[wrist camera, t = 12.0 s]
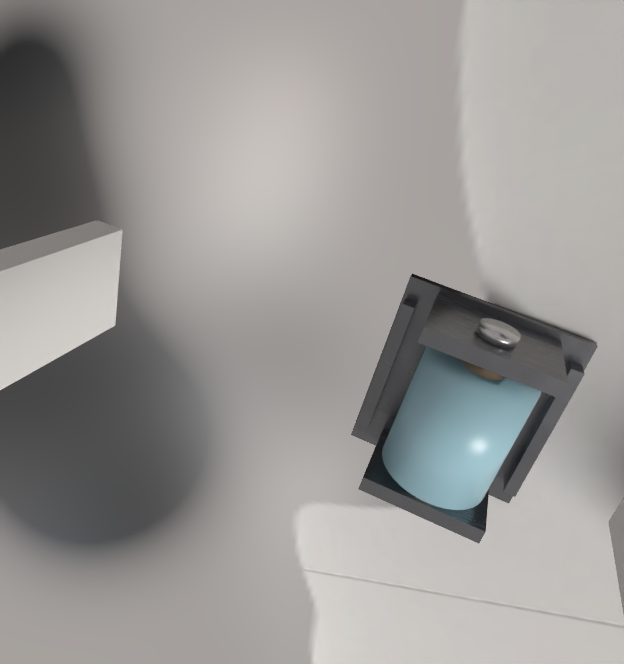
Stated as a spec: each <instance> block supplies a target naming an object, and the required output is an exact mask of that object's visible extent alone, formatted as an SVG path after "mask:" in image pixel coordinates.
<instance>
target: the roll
mask: <svg viewBox="0 0 624 664" xmlns="http://www.w3.org/2000/svg"><path fill="white" fill-rule="evenodd" d="M540 395H541V391H539V390H536V389H534V388H531V387H529V386H526V385H524V384H521V383H519V382H516V381H514V380H511V379H509V378H506V377H504V376H501V375H499V374H496V373H493V372H491V371H488V370H486V369H483V368H481V367H478V366H476V365H473V364H471V363H468V362H466V361H463V360H461V359H458V358H456V357H453V356H451V355H448V354H446V353H443V352H440V351H438V350H435V349H433V348H430V347H428V346H426V349H425V351H424V353H423V355H422V358H421V360H420V362H419V365H418V367H417V369H416V372H415V374H414V376H413V379H412V381H411V383H410V386H409V388H408V390H407V393H406V395H405V397H404V400H403V402H402V404H401V407H400V409H399V411H398V414H397V416H396V418H395V421H394V423H393V425H392V428H391V430H390V432H389V435H388V437H387V439H386V441H385V444H384V446H383V449H382V458H383V462H384V465H385V467H386V469H387V470H388V472H389V474H390V475H391V476H392V478H393V479H394V480H395V481H396V482H397V483H398V484H399V485H400V486H401V487H402V488H404V489H405V490H406V491H408V492H409V493H410V494H412V495H414V496H415V497H417V498H419V499H420V500H422V501H424V502H427V503H429V504H431V505H434V506H437V507H441V508H445V509H451V510H466V509H470V508H473V507H475V506H477V505H478V504H479V503H480V502H481V501H482V500H483V498H484V496H485V494H486V492H487V491H488V489H489V487H490V485H491V483H492V482H493V480H494V478H495V476H496V474H497V473H498V471H499V469H500V467H501V466H502V464H503V462H504V460H505V458H506V457H507V455H508V453H509V451H510V449H511V448H512V446H513V444H514V442H515V440H516V439H517V437H518V435H519V433H520V431H521V430H522V428H523V426H524V424H525V422H526V421H527V419H528V417H529V415H530V413H531V412H532V410H533V408H534V406H535V404H536V403H537V401H538V399H539V397H540Z"/></svg>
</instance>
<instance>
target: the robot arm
mask: <svg viewBox="0 0 624 664" xmlns="http://www.w3.org/2000/svg"><path fill="white" fill-rule="evenodd" d="M121 241H122V229H119V228H116V227H113V226H111V225H108V224H105V223H102V222H99V221H94V222H91V223H87V224H84V225H81V226H77V227H74V228H71V229H68V230H64V231H61V232H57V233H54V234H51V235H47V236H44V237H41V238H38V239H34V240H31V241H28V242H24V243H21V244H18V245H14V246H11V247H8V248H4V249H1V250H0V390H1V389H3V388H5V387H6V386H8V385H10V384H12V383H14V382H15V381H17V380H19V379H21V378H23V377H24V376H26V375H28V374H30V373H31V372H33V371H35V370H37V369H38V368H40V367H42V366H44V365H46V364H47V363H49V362H51V361H52V360H54V359H56V358H58V357H60V356H62V355H63V354H65V353H67V352H69V351H70V350H72V349H74V348H76V347H78V346H79V345H81V344H83V343H85V342H86V341H88V340H90V339H92V338H94V337H95V336H97V335H99V334H101V333H102V332H104V331H106V330H108V329H109V328H111V327H113V326H115V319H116V307H117V293H118V280H119V268H120V255H121ZM609 527H610V533H611V540H612V546H613V552H614V558H615V564H616V570H617V576H618V583H619V589H620V595H621V601H622V607H623V613H624V498H623V499H622V501H621V502H620V504H619V506H618V507H617V509H616V511H615V512H614V514H613V515H612V517H611V519H610V520H609Z"/></svg>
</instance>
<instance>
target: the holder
mask: <svg viewBox="0 0 624 664" xmlns="http://www.w3.org/2000/svg"><path fill="white" fill-rule="evenodd" d="M426 346H428V347H430V348H433V349H435V350H438V351H440V352H443V353H446V354H448V355H451V356H453V357H456V358H458V359H461V360H463V361H466V362H468V363H471V364H473V365H476V366H478V367H481V368H483V369H486V370H488V371H491V372H493V373H496V374H499V375H501V376H504V377H506V378H509V379H511V380H514V381H516V382H519V383H521V384H524V385H526V386H529V387H531V388H534V389H536V390H539V391H541V395H540V397H539V399H538V401H537V403H536V404H535V406H534V408H533V410H532V412H531V413H530V415H529V417H528V419H527V421H526V422H525V424H524V426H523V428H522V430H521V431H520V433H519V435H518V437H517V439H516V440H515V442H514V444H513V446H512V448H511V449H510V451H509V453H508V455H507V457H506V458H505V460H504V462H503V464H502V466H501V467H500V469H499V471H498V473H497V474H496V476H495V478H494V480H493V482H492V483H491V485H490V487H489V489H488V491H487V492H486V494H485V496H484V498H483V500H482V501H481V502H480V503H479V504H478V505H477V506H475V507H473V508H470V509H466V510H451V509H445V508H441V507H437V506H434V505H431V504H429V503H427V502H424V501H422V500H420V499H419V498H417V497H415V496H414V495H412V494H410V493H409V492H408V491H406V490H405V489H404V488H402V487H401V486H400V485H399V484H398V483H397V482H396V481H395V480H394V479H393V478H392V476H391V475H390V474H389V472H388V470H387V469H386V467H385V465H384V462H383V458H382V449H383V446H384V444H385V441H386V439H387V437H388V435H389V432H390V430H391V428H392V425H393V423H394V421H395V418H396V416H397V414H398V411H399V409H400V407H401V404H402V402H403V400H404V397H405V395H406V393H407V390H408V388H409V386H410V383H411V381H412V379H413V376H414V374H415V372H416V369H417V367H418V365H419V362H420V360H421V358H422V355H423V353H424V351H425V349H426ZM596 348H597V343H596V342H593V341H590V340H588V339H585V338H582V337H580V336H577V335H574V334H572V333H569V332H566V331H564V330H561V329H558V328H556V327H553V326H550V325H548V324H545V323H542V322H540V321H537V320H534V319H532V318H529V317H526V316H524V315H521V314H518V313H516V312H513V311H510V310H508V309H505V308H502V307H500V306H497V305H494V304H492V303H489V302H486V301H484V300H481V299H478V298H476V297H473V296H470V295H468V294H465V293H462V292H460V291H457V290H454V289H451V288H449V287H446V286H444V285H441V284H438V283H436V282H433V281H430V280H428V279H425V278H422V277H419V276H417V275H414V274H412V275H411V277H410V280H409V282H408V285H407V288H406V290H405V293H404V296H403V298H402V301H401V303H400V306H399V309H398V311H397V314H396V317H395V320H394V322H393V325H392V327H391V330H390V333H389V335H388V338H387V341H386V343H385V346H384V349H383V351H382V354H381V357H380V359H379V362H378V365H377V367H376V370H375V373H374V375H373V378H372V381H371V383H370V386H369V389H368V391H367V394H366V397H365V399H364V402H363V405H362V407H361V410H360V412H359V415H358V418H357V420H356V423H355V426H354V429H353V431H352V434H351V435H353V436H355V437H358V438H360V439H362V440H364V441H367V442H369V443H371V444H374V445H376V447H375V450H374V452H373V455H372V457H371V460H370V462H369V464H368V467H367V469H366V472H365V474H364V477H363V479H362V482H361V484H360V486H359V489H360V490H362V491H364V492H366V493H369V494H371V495H373V496H375V497H377V498H380V499H382V500H384V501H386V502H388V503H391V504H393V505H395V506H397V507H399V508H402V509H404V510H406V511H408V512H410V513H413V514H415V515H417V516H419V517H422V518H424V519H426V520H428V521H430V522H433V523H435V524H437V525H439V526H442V527H444V528H446V529H448V530H450V531H453V532H455V533H457V534H459V535H461V536H464V537H466V538H468V539H470V540H473V541H475V542H477V543H479V542H480V541H481V539H482V537H483V535H484V534H485V531H486V518H487V506H488V494H489V495H491V496H493V497H496V498H498V499H500V500H502V501H505V502H507V503H509V502H510V500H511V499H512V497H513V496H514V497H515V496H516V494H517V492H518V490H519V489H520V487H521V485H522V483H523V481H524V480H525V478H526V476H527V474H528V473H529V471H530V469H531V467H532V466H533V464H534V462H535V460H536V459H537V457H538V455H539V453H540V452H541V450H542V448H543V446H544V444H545V443H546V441H547V439H548V437H549V436H550V434H551V432H552V430H553V429H554V427H555V425H556V423H557V422H558V420H559V418H560V416H561V415H562V413H563V411H564V409H565V407H566V406H567V404H568V402H569V400H570V399H571V397H572V395H573V393H574V392H575V390H576V388H577V386H578V385H579V383H580V381H581V379H582V378H583V376H584V369H585V368H586V366H587V364H588V362H589V361H590V359H591V357H592V355H593V354H594V352H595V350H596Z"/></svg>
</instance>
